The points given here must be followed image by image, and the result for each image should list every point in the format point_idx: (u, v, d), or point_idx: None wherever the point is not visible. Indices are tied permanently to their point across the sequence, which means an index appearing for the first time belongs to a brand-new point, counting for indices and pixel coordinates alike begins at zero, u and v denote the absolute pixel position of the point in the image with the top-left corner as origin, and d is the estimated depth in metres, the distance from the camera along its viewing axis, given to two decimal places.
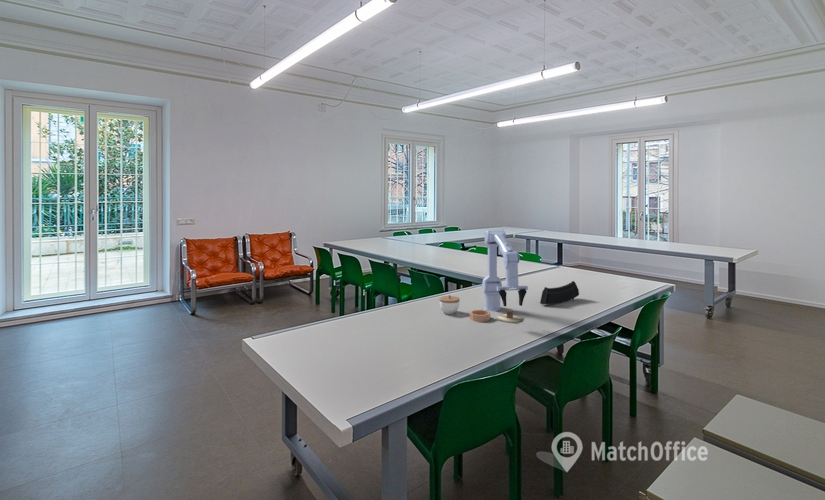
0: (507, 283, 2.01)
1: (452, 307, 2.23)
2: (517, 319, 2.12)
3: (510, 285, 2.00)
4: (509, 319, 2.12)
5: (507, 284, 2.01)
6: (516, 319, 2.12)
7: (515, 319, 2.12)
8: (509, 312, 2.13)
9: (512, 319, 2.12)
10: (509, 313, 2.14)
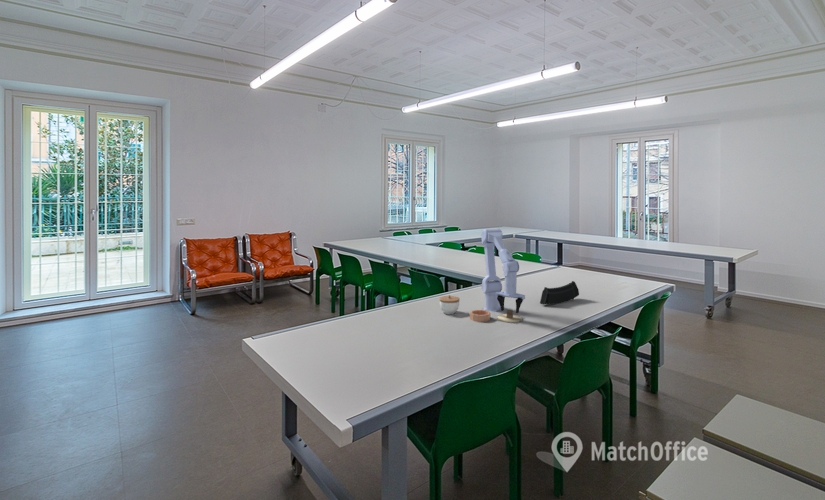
0: None
1: (452, 307, 2.23)
2: (517, 319, 2.12)
3: (505, 293, 2.12)
4: (509, 319, 2.12)
5: None
6: (516, 319, 2.12)
7: (515, 319, 2.12)
8: (509, 312, 2.13)
9: (512, 319, 2.12)
10: (509, 313, 2.14)
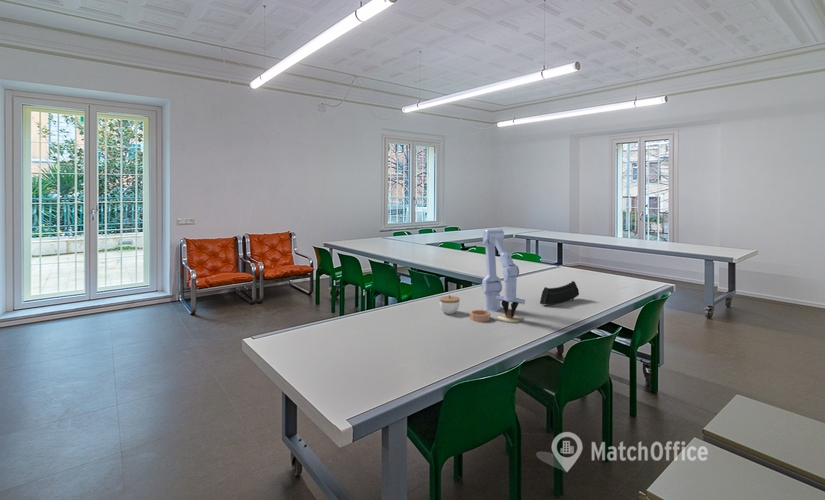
0: (504, 295, 2.14)
1: (452, 307, 2.23)
2: (517, 319, 2.12)
3: (505, 297, 2.13)
4: (509, 319, 2.12)
5: (504, 296, 2.14)
6: (516, 319, 2.12)
7: (515, 319, 2.12)
8: (509, 312, 2.13)
9: (512, 319, 2.12)
10: (509, 313, 2.14)
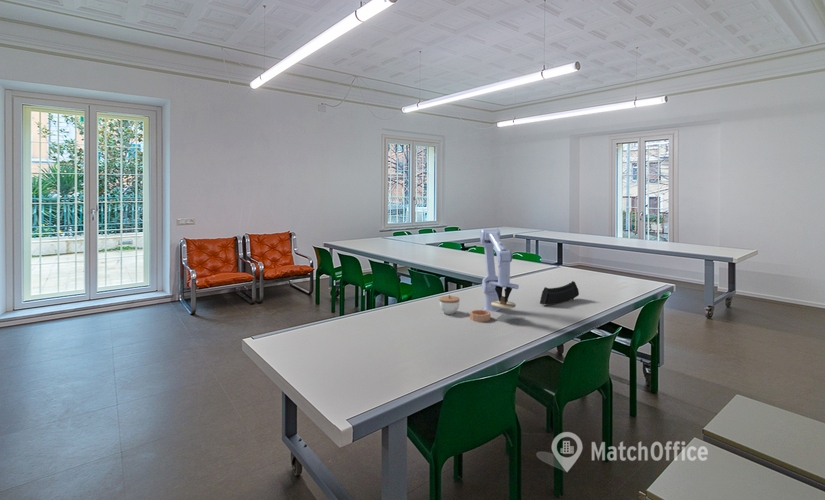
0: (498, 280, 2.13)
1: (452, 307, 2.23)
2: (511, 305, 2.11)
3: (499, 282, 2.12)
4: (503, 305, 2.11)
5: (498, 281, 2.13)
6: (509, 305, 2.11)
7: (508, 305, 2.12)
8: (503, 298, 2.13)
9: (506, 305, 2.11)
10: (503, 299, 2.13)
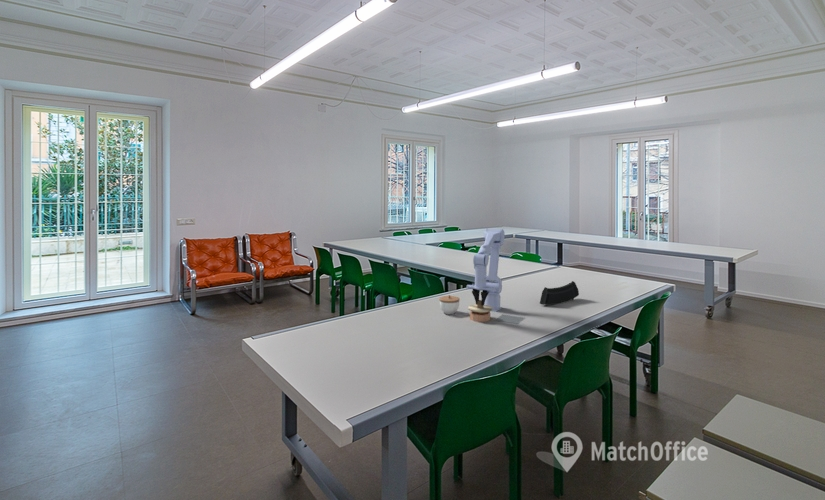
0: None
1: (452, 307, 2.23)
2: (487, 309, 2.12)
3: (475, 285, 2.13)
4: (479, 309, 2.12)
5: None
6: (486, 309, 2.13)
7: (485, 309, 2.13)
8: (479, 302, 2.14)
9: (482, 309, 2.12)
10: (479, 303, 2.14)
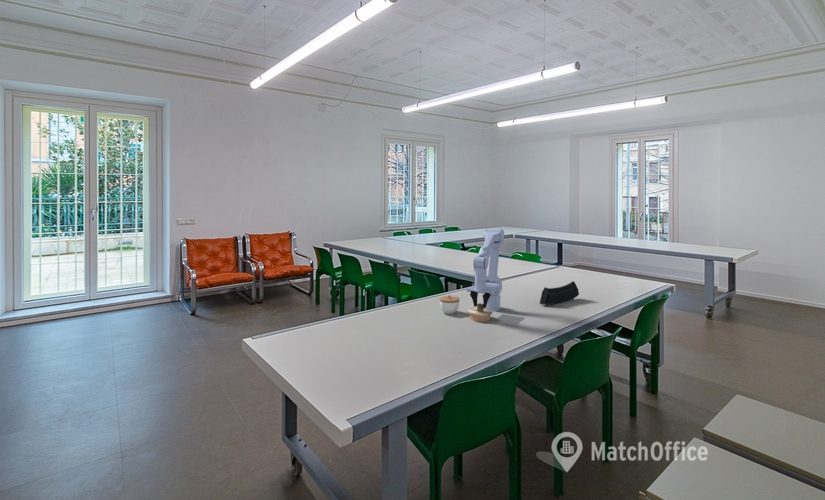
0: None
1: (452, 307, 2.23)
2: (487, 312, 2.12)
3: (475, 288, 2.13)
4: (479, 312, 2.12)
5: None
6: (486, 312, 2.13)
7: (485, 312, 2.13)
8: (479, 305, 2.14)
9: (482, 312, 2.12)
10: (479, 306, 2.14)
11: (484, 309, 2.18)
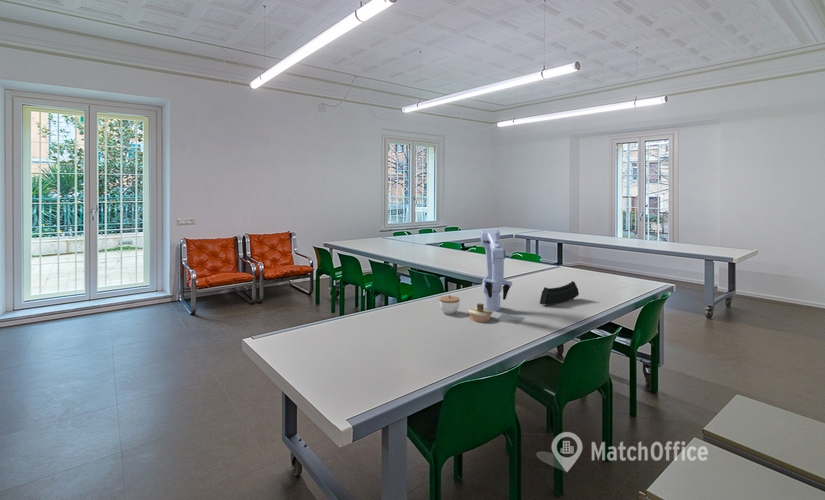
0: (492, 277, 2.16)
1: (452, 307, 2.23)
2: (487, 312, 2.12)
3: (492, 279, 2.14)
4: (479, 312, 2.12)
5: (492, 278, 2.16)
6: (486, 312, 2.13)
7: (485, 312, 2.13)
8: (479, 305, 2.14)
9: (482, 312, 2.12)
10: (479, 306, 2.14)
11: (484, 309, 2.18)
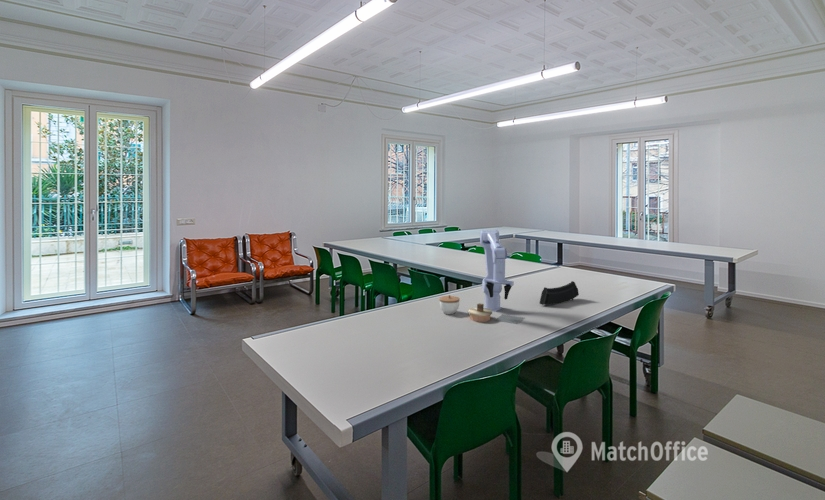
0: (493, 277, 2.16)
1: (452, 307, 2.23)
2: (487, 312, 2.12)
3: (494, 279, 2.15)
4: (479, 312, 2.12)
5: None
6: (486, 312, 2.13)
7: (485, 312, 2.13)
8: (479, 305, 2.14)
9: (482, 312, 2.12)
10: (479, 306, 2.14)
11: (484, 309, 2.18)
